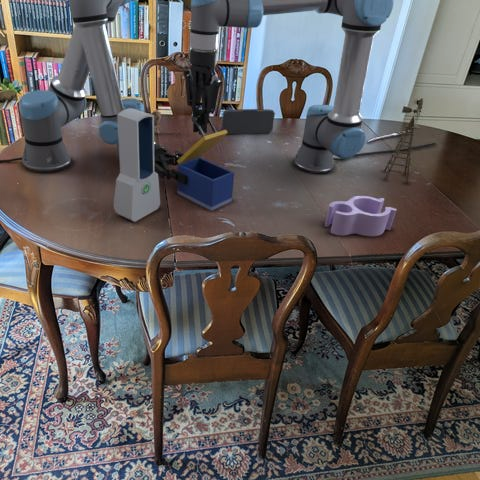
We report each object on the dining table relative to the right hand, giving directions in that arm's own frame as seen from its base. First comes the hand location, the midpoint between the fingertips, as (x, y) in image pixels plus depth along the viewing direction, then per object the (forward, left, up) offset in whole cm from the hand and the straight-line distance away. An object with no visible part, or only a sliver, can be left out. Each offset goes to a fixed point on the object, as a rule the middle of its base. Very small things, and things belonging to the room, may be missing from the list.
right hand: (199, 132), depth 140 cm
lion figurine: (-12, -55, -21) cm, 60 cm away
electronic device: (+22, +1, -21) cm, 30 cm away
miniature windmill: (-73, +26, -21) cm, 81 cm away
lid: (0, +1, -5) cm, 5 cm away
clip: (-30, +42, -21) cm, 56 cm away
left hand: (0, 0, -14) cm, 14 cm away
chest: (-1, +3, -21) cm, 21 cm away
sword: (-109, -1, -21) cm, 111 cm away
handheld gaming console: (-52, -36, -21) cm, 66 cm away
